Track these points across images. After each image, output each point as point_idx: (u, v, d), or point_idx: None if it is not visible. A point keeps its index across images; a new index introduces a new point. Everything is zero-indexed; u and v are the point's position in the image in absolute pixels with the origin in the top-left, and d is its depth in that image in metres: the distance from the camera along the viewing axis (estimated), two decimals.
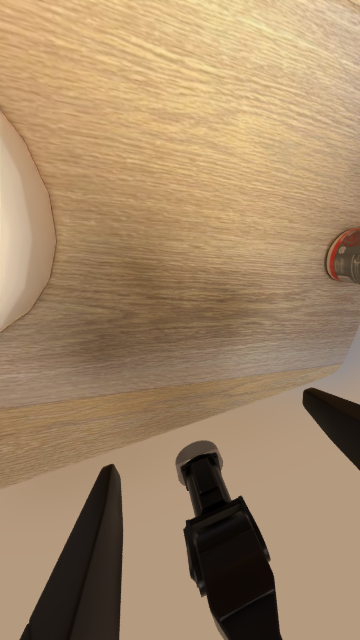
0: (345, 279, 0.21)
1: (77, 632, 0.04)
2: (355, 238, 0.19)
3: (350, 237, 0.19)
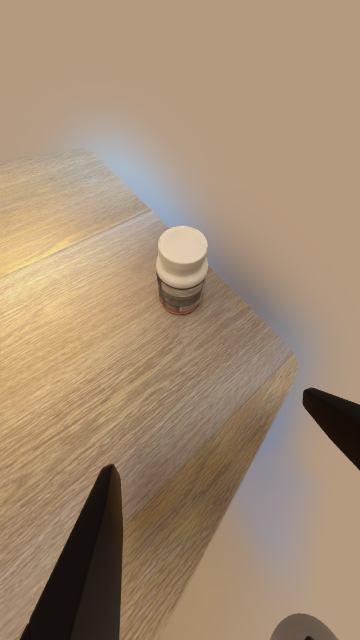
0: (184, 309, 0.24)
1: (77, 632, 0.04)
2: None
3: None
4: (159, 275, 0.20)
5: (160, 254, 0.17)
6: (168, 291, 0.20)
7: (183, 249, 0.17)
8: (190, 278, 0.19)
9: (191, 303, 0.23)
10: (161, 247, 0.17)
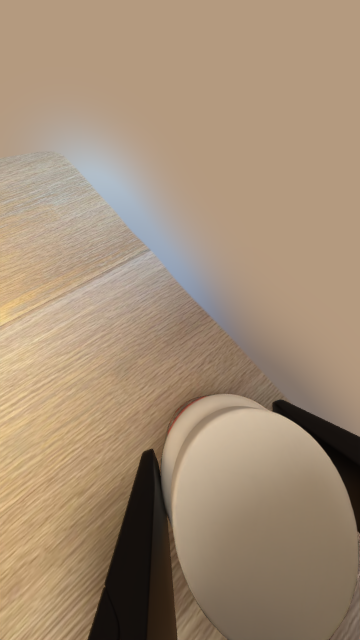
0: None
1: (152, 594, 0.04)
2: None
3: None
4: None
5: None
6: None
7: (272, 551, 0.04)
8: None
9: None
10: (185, 544, 0.04)
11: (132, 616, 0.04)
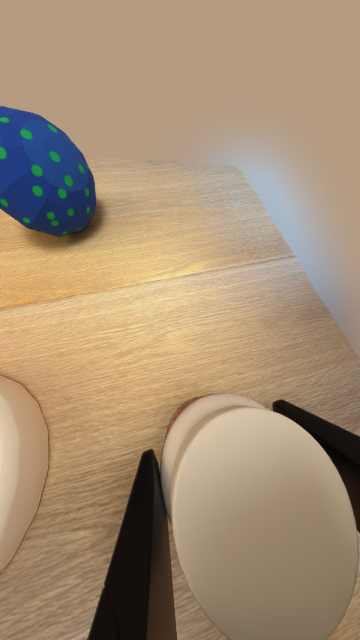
0: None
1: (152, 594, 0.04)
2: None
3: None
4: (171, 523, 0.07)
5: None
6: None
7: (272, 549, 0.04)
8: None
9: None
10: (185, 543, 0.04)
11: (132, 616, 0.04)
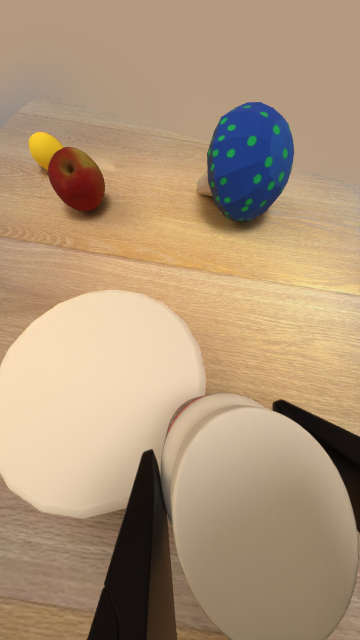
0: None
1: (152, 594, 0.04)
2: None
3: None
4: None
5: None
6: None
7: (272, 549, 0.04)
8: None
9: None
10: (185, 542, 0.04)
11: (132, 616, 0.04)
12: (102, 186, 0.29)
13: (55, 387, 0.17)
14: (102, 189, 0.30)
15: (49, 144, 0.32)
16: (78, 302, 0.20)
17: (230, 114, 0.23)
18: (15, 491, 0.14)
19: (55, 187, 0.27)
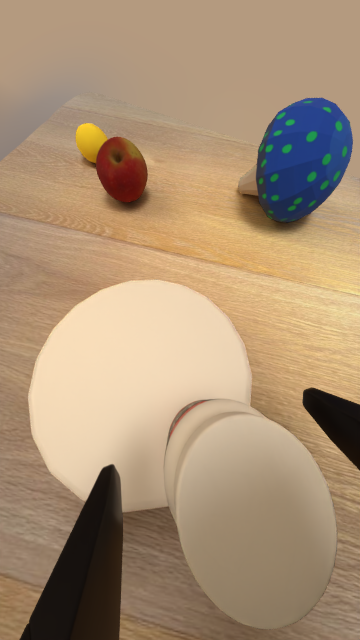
0: None
1: (77, 632, 0.04)
2: None
3: None
4: (174, 518, 0.07)
5: None
6: None
7: (262, 538, 0.05)
8: None
9: None
10: (187, 533, 0.05)
11: None
12: (145, 177, 0.29)
13: (99, 372, 0.16)
14: (145, 181, 0.29)
15: (95, 135, 0.32)
16: (122, 289, 0.20)
17: (289, 109, 0.22)
18: (56, 475, 0.14)
19: (101, 176, 0.27)
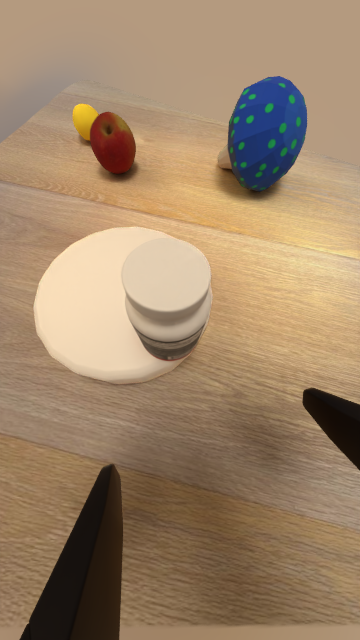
0: (175, 357, 0.16)
1: (77, 632, 0.04)
2: None
3: None
4: (130, 319, 0.12)
5: (125, 291, 0.10)
6: (147, 341, 0.13)
7: (167, 282, 0.09)
8: (181, 327, 0.11)
9: (185, 351, 0.15)
10: (126, 279, 0.09)
11: None
12: (133, 150, 0.33)
13: (89, 289, 0.21)
14: (133, 153, 0.34)
15: (90, 114, 0.36)
16: (110, 232, 0.24)
17: (252, 85, 0.27)
18: (55, 354, 0.18)
19: (94, 146, 0.31)
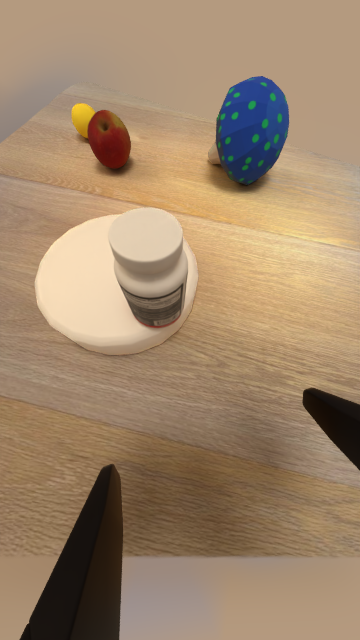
0: (160, 322, 0.18)
1: (77, 632, 0.04)
2: None
3: None
4: (117, 279, 0.14)
5: (111, 248, 0.12)
6: (133, 300, 0.15)
7: (145, 240, 0.11)
8: (160, 283, 0.13)
9: (169, 315, 0.17)
10: (112, 237, 0.11)
11: None
12: (128, 145, 0.35)
13: (85, 268, 0.23)
14: (128, 149, 0.36)
15: (88, 113, 0.39)
16: (105, 218, 0.26)
17: (237, 85, 0.29)
18: (54, 324, 0.20)
19: (92, 142, 0.33)
